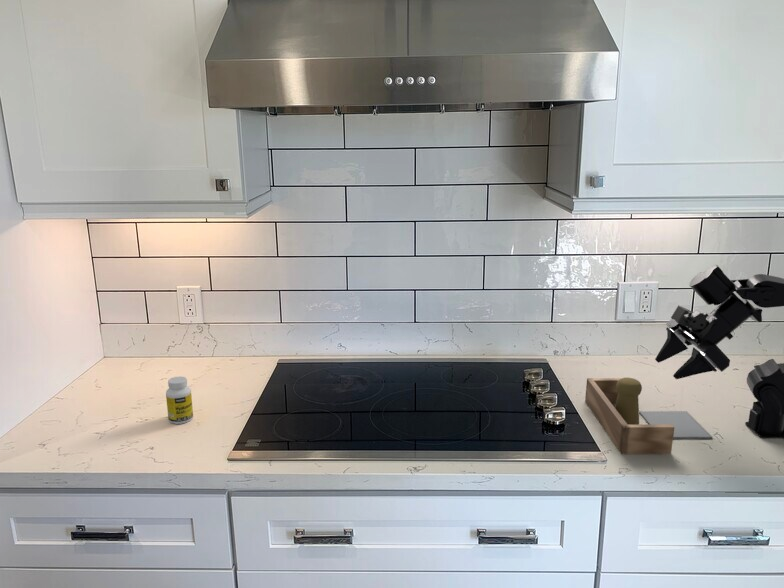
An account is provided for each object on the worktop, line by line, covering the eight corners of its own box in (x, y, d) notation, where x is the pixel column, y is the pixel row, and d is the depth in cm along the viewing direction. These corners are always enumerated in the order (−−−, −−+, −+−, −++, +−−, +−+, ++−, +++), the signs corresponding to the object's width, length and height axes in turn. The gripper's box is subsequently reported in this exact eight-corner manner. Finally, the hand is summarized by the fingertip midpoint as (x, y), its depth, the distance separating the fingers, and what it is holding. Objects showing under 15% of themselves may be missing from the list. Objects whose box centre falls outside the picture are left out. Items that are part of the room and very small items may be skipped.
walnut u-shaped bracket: (627, 401, 151) (629, 378, 149) (671, 453, 127) (674, 427, 126) (585, 401, 151) (587, 378, 149) (621, 454, 127) (623, 427, 126)
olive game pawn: (621, 433, 136) (626, 387, 133) (605, 421, 141) (609, 376, 138) (645, 430, 137) (650, 383, 134) (628, 417, 143) (633, 373, 140)
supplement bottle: (176, 427, 139) (172, 386, 136) (164, 419, 143) (159, 380, 140) (198, 418, 143) (194, 379, 140) (185, 411, 146) (181, 372, 144)
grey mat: (686, 412, 145) (686, 411, 145) (712, 438, 133) (712, 436, 133) (639, 412, 145) (639, 411, 145) (660, 438, 133) (660, 437, 133)
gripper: (680, 283, 140) (625, 330, 143) (722, 308, 122) (659, 361, 125) (710, 316, 142) (656, 362, 145) (756, 345, 124) (694, 396, 127)
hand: (665, 369), depth 135 cm, fingers open, 9 cm apart
